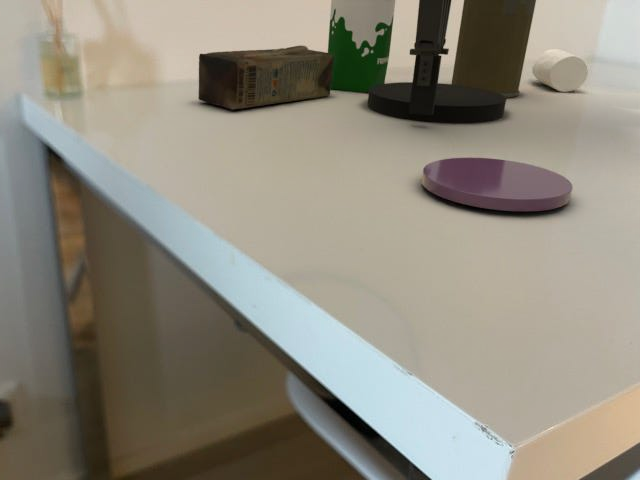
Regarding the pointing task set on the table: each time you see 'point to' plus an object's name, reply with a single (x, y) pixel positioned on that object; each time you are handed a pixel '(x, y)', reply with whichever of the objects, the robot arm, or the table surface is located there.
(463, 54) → the canister
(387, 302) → the table surface
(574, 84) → the roll
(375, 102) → the wireless charger
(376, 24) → the milk carton
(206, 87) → the beverage carton
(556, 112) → the table surface
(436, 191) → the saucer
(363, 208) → the table surface
